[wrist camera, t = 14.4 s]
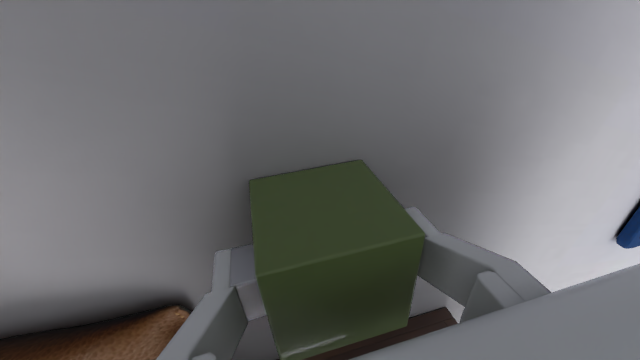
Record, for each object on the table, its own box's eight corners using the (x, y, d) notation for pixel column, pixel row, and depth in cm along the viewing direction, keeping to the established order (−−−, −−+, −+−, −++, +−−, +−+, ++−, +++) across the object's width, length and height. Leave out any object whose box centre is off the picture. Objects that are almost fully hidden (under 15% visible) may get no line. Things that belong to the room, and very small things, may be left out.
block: (268, 261, 12) (281, 367, 8) (248, 179, 10) (254, 276, 6) (359, 239, 13) (408, 327, 9) (361, 158, 10) (427, 233, 7)
